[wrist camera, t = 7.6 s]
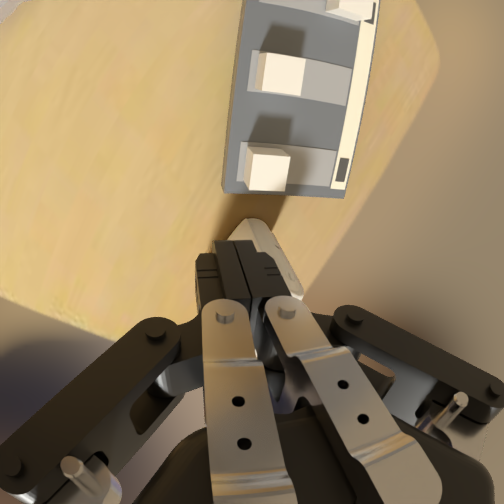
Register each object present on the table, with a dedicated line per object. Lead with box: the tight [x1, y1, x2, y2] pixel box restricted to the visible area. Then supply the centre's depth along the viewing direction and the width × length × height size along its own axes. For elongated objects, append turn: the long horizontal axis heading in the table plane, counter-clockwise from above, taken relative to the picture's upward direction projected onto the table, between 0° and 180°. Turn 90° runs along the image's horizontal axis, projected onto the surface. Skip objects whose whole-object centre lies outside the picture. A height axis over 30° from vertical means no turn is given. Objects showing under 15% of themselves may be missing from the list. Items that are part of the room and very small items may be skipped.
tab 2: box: [325, 0, 374, 21], centre depth 19 cm, size 3×3×2 cm
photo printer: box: [227, 218, 304, 356], centre depth 29 cm, size 10×4×12 cm, turn 144°
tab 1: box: [243, 146, 290, 192], centre depth 26 cm, size 3×3×2 cm
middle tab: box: [255, 53, 306, 96], centre depth 22 cm, size 3×3×2 cm
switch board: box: [221, 0, 380, 199], centre depth 25 cm, size 22×12×2 cm, turn 173°
